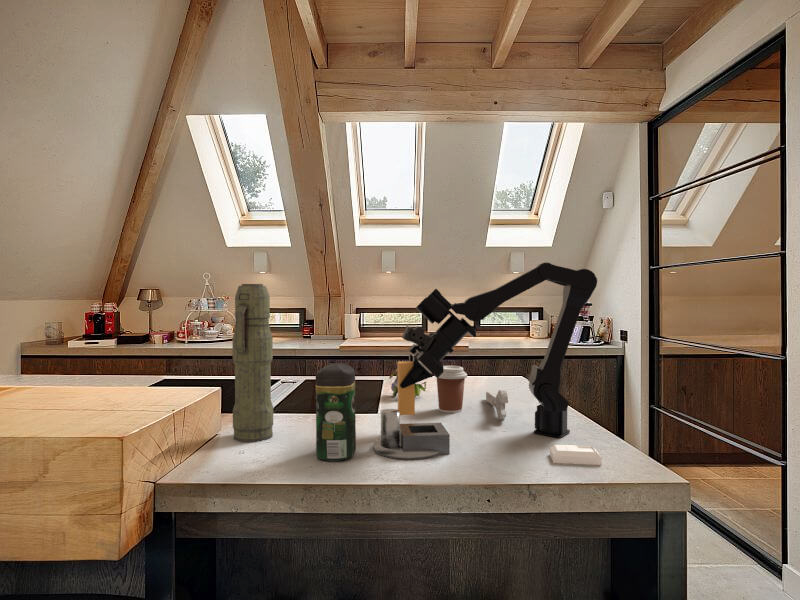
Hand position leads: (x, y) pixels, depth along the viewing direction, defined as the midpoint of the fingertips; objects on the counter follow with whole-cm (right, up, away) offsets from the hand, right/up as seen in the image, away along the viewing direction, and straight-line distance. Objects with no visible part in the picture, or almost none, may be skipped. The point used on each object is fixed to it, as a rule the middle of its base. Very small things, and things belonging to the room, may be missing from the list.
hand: (400, 385), depth 121 cm
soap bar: (+35, -12, -19) cm, 41 cm away
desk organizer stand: (+2, -11, -12) cm, 16 cm away
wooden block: (+1, -7, 0) cm, 7 cm away
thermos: (-34, -11, -3) cm, 36 cm away
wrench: (+26, -11, +22) cm, 36 cm away
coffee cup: (+14, -11, +22) cm, 29 cm away
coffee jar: (-13, -12, -16) cm, 24 cm away
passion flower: (+2, -11, +39) cm, 41 cm away
